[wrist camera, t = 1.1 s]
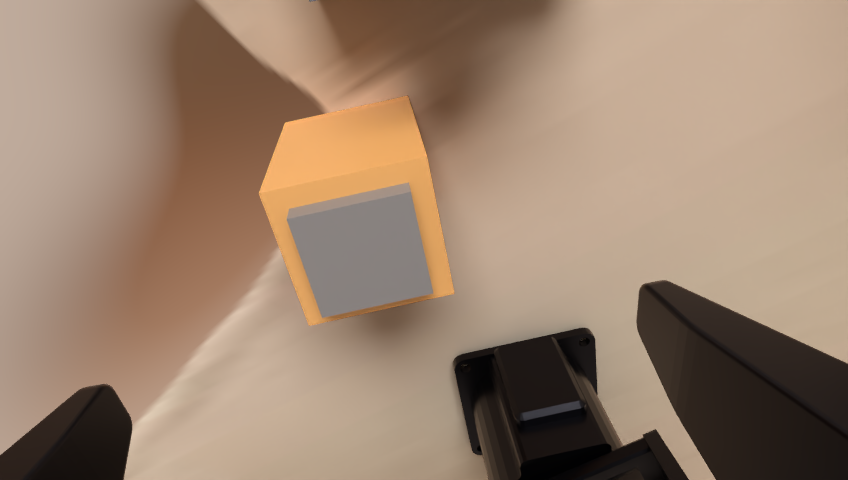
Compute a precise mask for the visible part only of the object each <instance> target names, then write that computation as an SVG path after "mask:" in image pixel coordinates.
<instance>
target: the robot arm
mask: <svg viewBox="0 0 848 480" xmlns="http://www.w3.org/2000/svg"><path fill="white" fill-rule="evenodd" d="M637 329H638V332H639V335H640V337H641V340H642V342H643V344H644V346H645V348H646V350H647V353H648V355H649V357H650V359H651V361H652V363H653V366H654V368H655V370H656V372H657V374H658V376H659V379H660V381H661V383H662V385H663V387H664V389H665V392H666V394H667V396H668V398H669V400H670V402H671V404H672V406H673V408H674V410H675V412H676V414H677V416H678V417H679V419H680V421H681V423H682V424H683V426H684V428H685V429H686V431H687V433H688V434H689V436H690V438H691V439H692V441H693V442H694V444H695V446H696V447H697V449H698V451H699V452H700V454H701V456H702V457H703V459H704V461H705V462H706V464H707V466H708V467H709V469H710V470H711V472H712V474H713V475H714V477H715V479H716V480H848V364H847V363H845V362H843V361H841V360H839V359H837V358H834V357H832V356H830V355H828V354H826V353H823V352H821V351H819V350H817V349H815V348H813V347H810V346H808V345H806V344H804V343H802V342H800V341H797V340H795V339H793V338H791V337H789V336H787V335H784V334H782V333H780V332H778V331H776V330H774V329H771V328H769V327H767V326H765V325H763V324H760V323H758V322H756V321H754V320H752V319H750V318H747V317H745V316H743V315H741V314H739V313H737V312H734V311H732V310H730V309H728V308H726V307H724V306H721V305H719V304H717V303H715V302H713V301H711V300H708V299H706V298H704V297H702V296H700V295H697V294H695V293H693V292H691V291H689V290H687V289H684V288H682V287H680V286H678V285H676V284H674V283H671V282H669V281H666V280H661V281H656V282H650V283H645V284H643V285H642V286H641V288H640V290H639V299H638V310H637ZM582 338H585V339H584V340H582V341H580V340H581V339H582ZM463 364H468V365H467V366H462V365H463ZM453 365H454V370H455V374H456V379H457V383H458V388H459V393H460V397H461V402H462V406H463V411H464V415H465V420H466V425H467V429H468V434H469V438H470V443H471V448H472V451H473V453H475V454H477V455H483V458H484V462H485V467H486V471H487V475H488V479H489V480H689V479H688V478H687V476H686V475H685V473H684V472H683V470H682V469H681V467H680V466H679V464H678V462H677V461H676V459H675V458H674V456H673V455H672V453H671V452H670V450H669V449H668V447H667V446H666V444H665V443H664V441H663V440H662V438H661V437H660V435H659V433H658V432H657V430H656V429H655V430H653V431H651V432H648V433H646V434H644V435H643V438H641V439H638V440H636V441H634V442H631V443H629V444H627V445H624V446H623V445H622V443H621V441H620V439H619V437H618V435H617V433H616V431H615V429H614V427H613V425H612V423H611V422H610V420H609V418H608V416H607V414H606V412H605V410H604V408H603V406H602V404H601V402H600V400H599V398H598V396H597V373H596V349H595V338H594V336H593V334H592V332H591V331H590V330H589V329H587V328H579V329H574V330H570V331H565V332H561V333H556V334H552V335H547V336H542V337H538V338H533V339H529V340H524V341H520V342H515V343H511V344H506V345H501V346H497V347H492V348H488V349H483V350H479V351H474V352H470V353H465V354H461V355H459V356H457V357H456V358H455V360H454V362H453ZM131 435H132V421H131V417H130V416H129V413H128V412H127V410H126V408H125V407H124V405H123V404H122V402H121V400H120V399H119V397H118V395H117V394H116V392H115V391H114V389H113V388H112V387H111V386H110V385H108V384H101V385H95V386H89V387H85V388H82V389H80V390H78V391H77V392H76V393H74V395H72V396H71V397H70V398H68V399H67V400H66V401H65V402H64V403H62V404H61V405H60V406H59V407H58V408H56V409H55V410H54V411H53V412H52V413H50V414H49V415H48V416H47V417H46V418H45V419H43V420H42V421H41V422H40V423H39V424H37V425H36V426H35V427H34V428H32V429H31V430H30V431H29V432H28V433H26V434H25V435H24V436H23V437H22V438H20V440H18V441H17V442H16V443H14V445H12V446H11V447H10V448H9V449H7V450H6V451H5V452H4V453H3V454H1V455H0V480H124V474H125V469H126V463H127V457H128V452H129V446H130V440H131Z"/></svg>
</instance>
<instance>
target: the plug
mask: <svg viewBox="0 0 848 480" xmlns="http://www.w3.org/2000/svg"><path fill="white" fill-rule="evenodd" d="M259 195H260V198H261V200H262V203H263V205H264V208H265V211H266V214H267V216H268V219H269V221H270V224H271V227H272V229H273V232H274V235H275V237H276V240H277V243H278V245H279V248H280V251H281V253H282V256H283V258H284V261H285V264H286V266H287V269H288V272H289V274H290V277H291V280H292V282H293V285H294V287H295V290H296V293H297V295H298V298H299V301H300V303H301V306H302V309H303V311H304V314H305V317H306V319H307V322H308V324H309V326H310V325H315V324H319V323H324V322H329V321H333V320H338V319H342V318H347V317H351V316H356V315H360V314H365V313H369V312H374V311H378V310H383V309H387V308H392V307H397V306H401V305H406V304H410V303H415V302H419V301H424V300H428V299H433V298H437V297H442V296H446V295H451V294H454V289H453V284H452V279H451V274H450V269H449V263H448V258H447V253H446V248H445V243H444V238H443V233H442V228H441V223H440V218H439V213H438V208H437V203H436V198H435V193H434V188H433V183H432V178H431V173H430V168H429V163H428V158H427V154H426V151H425V148H424V145H423V142H422V139H421V135H420V132H419V129H418V126H417V123H416V120H415V116H414V113H413V110H412V107H411V104H410V101H409V97H408V96H404V97H400V98H395V99H391V100H386V101H381V102H377V103H372V104H368V105H363V106H359V107H354V108H350V109H345V110H341V111H336V112H332V113H326V114H322V115H317V116H313V117H308V118H304V119H299V120H295V121H290V122H286V123H285V124H284V127H283V130H282V132H281V135H280V138H279V140H278V143H277V146H276V149H275V151H274V154H273V157H272V159H271V162H270V165H269V167H268V170H267V173H266V175H265V178H264V181H263V183H262V186H261V189H260V192H259Z"/></svg>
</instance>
